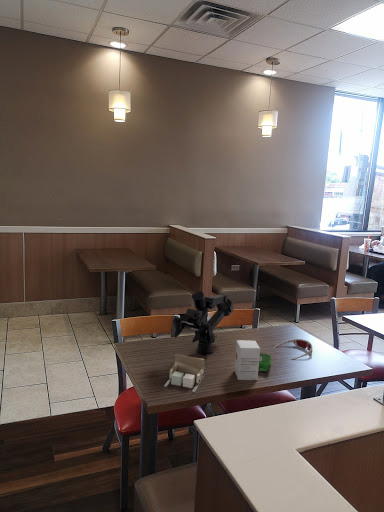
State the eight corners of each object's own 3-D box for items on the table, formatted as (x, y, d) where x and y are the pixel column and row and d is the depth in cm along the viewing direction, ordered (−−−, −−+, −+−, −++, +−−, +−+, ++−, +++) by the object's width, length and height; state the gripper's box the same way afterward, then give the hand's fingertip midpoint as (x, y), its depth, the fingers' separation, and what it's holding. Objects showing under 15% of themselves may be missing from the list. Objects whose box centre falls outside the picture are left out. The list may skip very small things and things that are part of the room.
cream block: (185, 382, 169) (185, 373, 169) (194, 383, 168) (195, 375, 168) (182, 386, 166) (183, 377, 165) (191, 388, 165) (192, 379, 164)
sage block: (174, 380, 171) (174, 371, 170) (183, 381, 170) (183, 373, 169) (171, 384, 167) (171, 375, 166) (180, 386, 166) (180, 377, 165)
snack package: (253, 374, 180) (254, 363, 179) (256, 359, 195) (257, 349, 194) (269, 376, 179) (270, 365, 178) (271, 362, 194) (272, 352, 193)
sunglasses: (319, 356, 203) (319, 347, 202) (291, 366, 197) (291, 357, 196) (299, 343, 219) (298, 335, 217) (272, 352, 213) (271, 343, 212)
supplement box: (233, 370, 182) (236, 339, 180) (253, 371, 183) (255, 340, 180) (237, 380, 173) (240, 347, 171) (257, 380, 174) (260, 348, 171)
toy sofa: (174, 370, 178) (175, 353, 177) (204, 375, 174) (205, 359, 173) (168, 378, 170) (169, 361, 169) (199, 384, 167) (200, 366, 165)
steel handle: (176, 370, 180) (176, 369, 180) (204, 375, 176) (204, 374, 176) (164, 386, 165) (164, 385, 165) (194, 392, 161) (194, 391, 161)
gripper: (178, 299, 189) (162, 322, 179) (214, 307, 181) (199, 331, 170) (182, 316, 196) (167, 339, 185) (217, 324, 187) (203, 349, 176)
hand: (183, 339), depth 179 cm, fingers open, 9 cm apart
